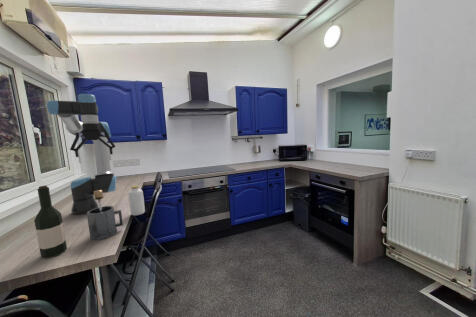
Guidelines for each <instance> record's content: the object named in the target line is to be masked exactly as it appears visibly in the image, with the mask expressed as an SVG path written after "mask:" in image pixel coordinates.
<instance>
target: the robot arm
mask: <svg viewBox="0 0 476 317" xmlns="http://www.w3.org/2000/svg"><path fill="white" fill-rule="evenodd" d="M77 99H78V100H77V101H76V100H74V101H73V100H72V101H70V100H57V99H56V100H48V101H47V102H46V109H47V112H48V114H49V115H55V116H58V117H59V119H61V121H62V122H63V124H64V125H65V129H66V130H67V132H68V133H70V134H71V135H73V136H75V138H74V140H73V141H72V144H71V146H70V148H69V150H70V151H73V152H74V154H75V157H76V158H78V163H79V164H82V156H81V154H82V153H81V151H80V149H81V148H82V147H83V146H84V145H85V143H86V142H87V141H92V142H93V149H94V157H95V165H96V166H95V167H96V174H95V175H94V178H92V176H86V177H80V178H78V179H74V180H72V181H71V182H70V190H71V197H72V207H71V211H70V213H71V215H76V216H77V215H78V216H79V215H84V214H87V212H88V211H90V210H93V209H95V208H99V203H98V202H97V200H95V198H94V191H97V190H102V191H103V194H105V193H111V192H115V190H117V175H114V173H113V172H112V169H111V162H110V161H111V160H112V159H111V158H112V157H111V155H113V149H115V147H116V145H115V144H114V142H113V141H112V139H111V138H110V137H112V134H111V131H110V127H109V124H108V122H106V121H99V116H98V115H99V114H98V112H99V106H98V105H97V99H96V96H95V95H94V94H90V93H79V94H78V95H77ZM77 115H78V116H79V115H80V120H81V121H80V120H79V118H78V117H77ZM80 138H83V139H82V141H80V143H79V144H78V141H79V140H80ZM108 142H109V144H110V145H109V144H108ZM77 144H78V145H77ZM76 145H77V147H76Z"/></svg>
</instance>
